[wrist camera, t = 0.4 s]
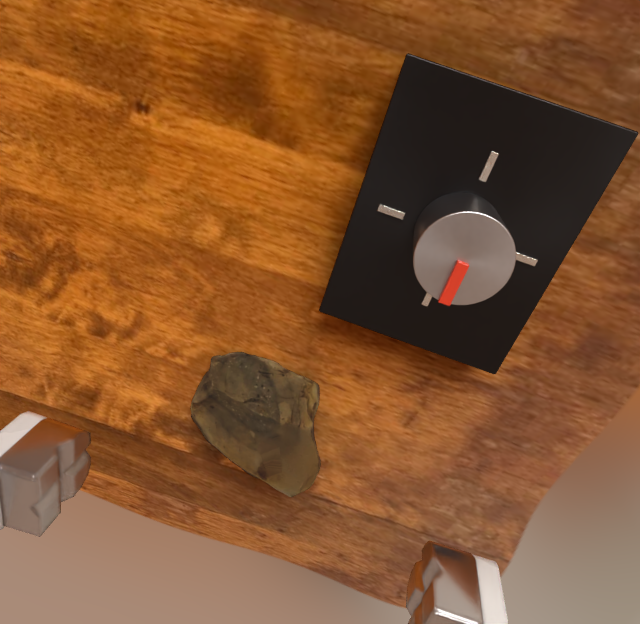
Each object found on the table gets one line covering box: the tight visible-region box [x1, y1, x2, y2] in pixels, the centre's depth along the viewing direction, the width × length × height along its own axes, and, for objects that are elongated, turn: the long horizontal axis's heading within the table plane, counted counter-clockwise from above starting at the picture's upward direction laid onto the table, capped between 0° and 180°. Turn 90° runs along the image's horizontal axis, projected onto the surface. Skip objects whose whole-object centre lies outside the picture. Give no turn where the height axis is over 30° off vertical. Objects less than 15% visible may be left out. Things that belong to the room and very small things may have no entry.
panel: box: [319, 54, 638, 374], centre depth 26 cm, size 14×11×3 cm
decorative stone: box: [191, 352, 321, 497], centre depth 34 cm, size 10×9×4 cm
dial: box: [413, 192, 516, 306], centre depth 23 cm, size 4×4×4 cm
